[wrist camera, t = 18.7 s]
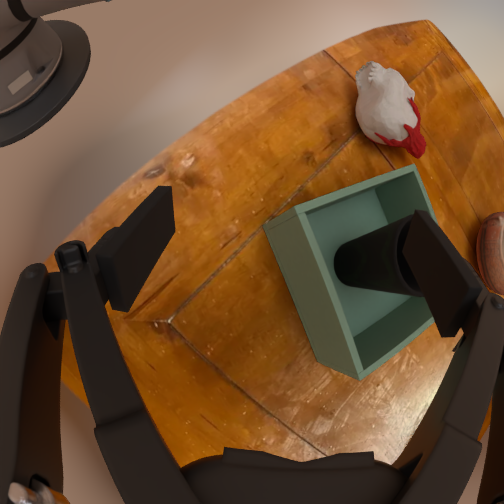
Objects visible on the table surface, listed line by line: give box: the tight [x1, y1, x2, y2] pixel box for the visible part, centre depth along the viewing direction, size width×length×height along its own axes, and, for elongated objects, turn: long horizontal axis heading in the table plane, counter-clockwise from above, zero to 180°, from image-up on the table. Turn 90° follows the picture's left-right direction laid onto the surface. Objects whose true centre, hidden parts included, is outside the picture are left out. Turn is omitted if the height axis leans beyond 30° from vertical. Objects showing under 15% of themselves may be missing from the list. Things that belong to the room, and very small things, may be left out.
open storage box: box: [263, 164, 439, 381], centre depth 33 cm, size 18×18×9 cm
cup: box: [334, 214, 424, 297], centre depth 30 cm, size 8×8×12 cm
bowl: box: [476, 212, 504, 295], centre depth 42 cm, size 16×16×10 cm
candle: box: [355, 61, 426, 159], centre depth 37 cm, size 9×11×15 cm
